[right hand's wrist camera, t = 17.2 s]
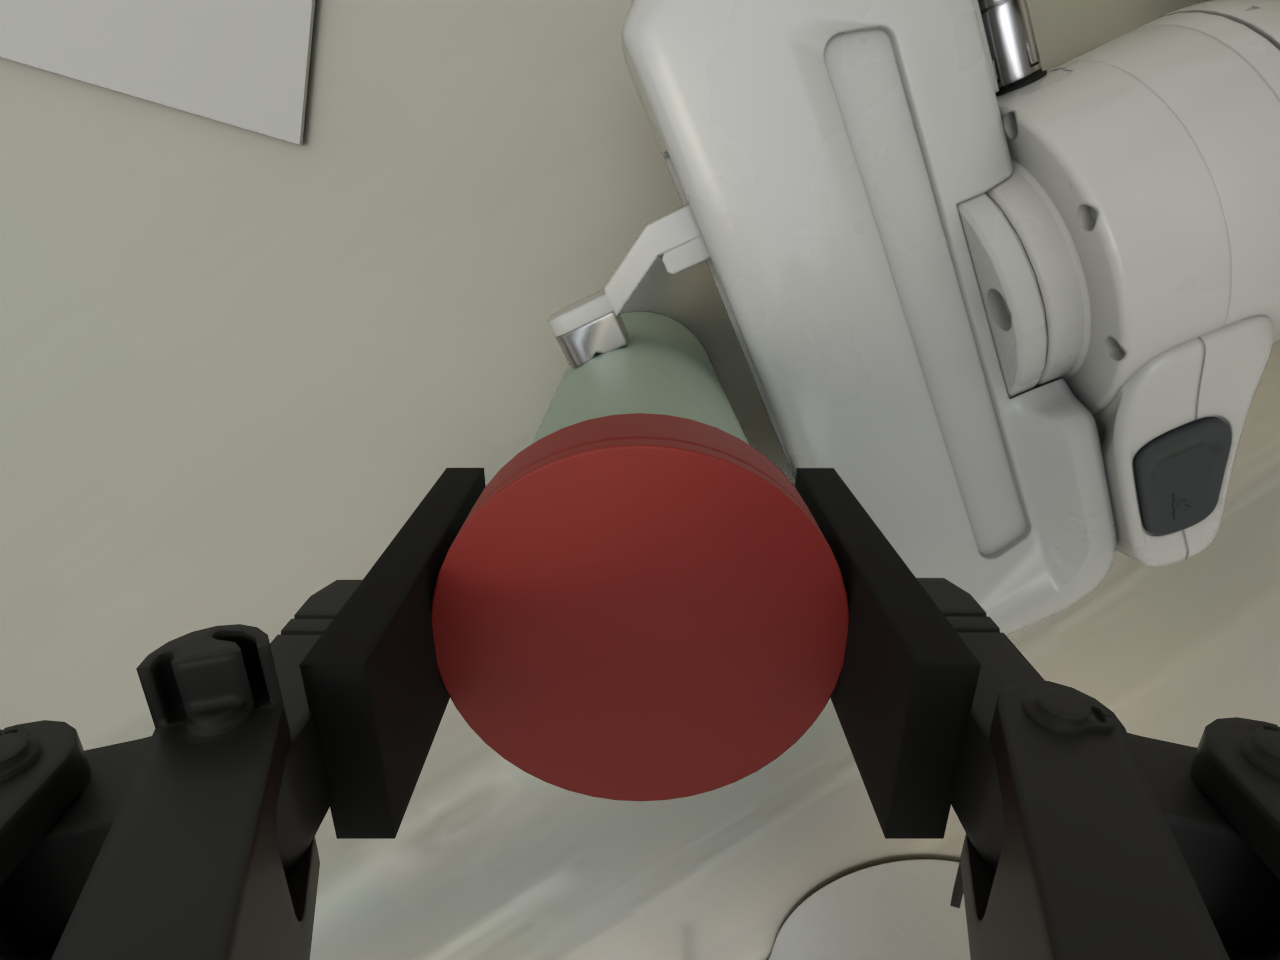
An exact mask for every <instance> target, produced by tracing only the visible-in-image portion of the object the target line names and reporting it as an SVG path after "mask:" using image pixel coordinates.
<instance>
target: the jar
mask: <svg viewBox="0 0 1280 960" xmlns="http://www.w3.org/2000/svg"><path fill="white" fill-rule="evenodd" d="M620 315H621V318H622V320H623V322H624V324H625V327H626V329H627V331H628V337H627V339H628V343H627V344H626V345H624V346H622V347H620V348H618V349H616V350H614V351H610V352H607V353H604V354H603V353H597V352H596V353H595V355H594V357H593V358H592V359H591V360H590V361H588V362H586V363H585V364H583V365H581V366H578V367H575V368H571V366H570V364H569V365H568V367H567V370H566V372H565V374H564V376H563V378H562V380H561V382H560V385H559V387H558V389H557V391H556V393H555V395H554V397H553V400H552V402H551V404H550V406H549V408H548V410H547V413H546V415H545V417H544V419H543V421H542V423H541V425H540V428H539V430H538V432H537V434H536V436H535V438H534V440H533V443H535V442H536V441H538V440H539V439H541V438H543V437H545V436H547V435H549V434H552V433H554V432H556V431H558V430H560V429H562V428H564V427H567V426H570V425H573V424H576V423H579V422H582V421H585V420H589V419H594V418H600V417H605V416H610V415H618V414H633V413H646V414H663V415H670V416H676V417H681V418H686V419H691V420H695V421H698V422H701V423H704V424H707V425H710V426H713V427H716V428H718V429H720V430H723V431H725V432H727V433H729V434H731V435H733V436H735V437H737V438H739V439H741V440H742V441H744V442H746V443H747V444H748V442H747V439H746V437H745V435H744V433H743V431H742V429H741V426H740V424H739V422H738V420H737V418H736V416H735V414H734V411H733V409H732V407H731V405H730V403H729V401H728V399H727V396H726V394H725V392H724V390H723V388H722V386H721V383H720V381H719V379H718V377H717V375H716V373H715V371H714V368H713V366H712V364H711V362H710V360H709V358H708V355H707V353H706V351H705V350H704V348H703V346H702V344H701V343H700V342H699V340H698V339H697V338H696V337H695V335H694V334H693V333H692V332H691V331H689V330H688V329H687V328H686V327H685V326H683V325H682V324H681V323H679V322H677V321H675V320H673V319H672V318H669V317H666V316H664V315H661V314H656V313H652V312H629V313H624V314H620ZM533 443H532V444H533Z"/></svg>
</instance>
